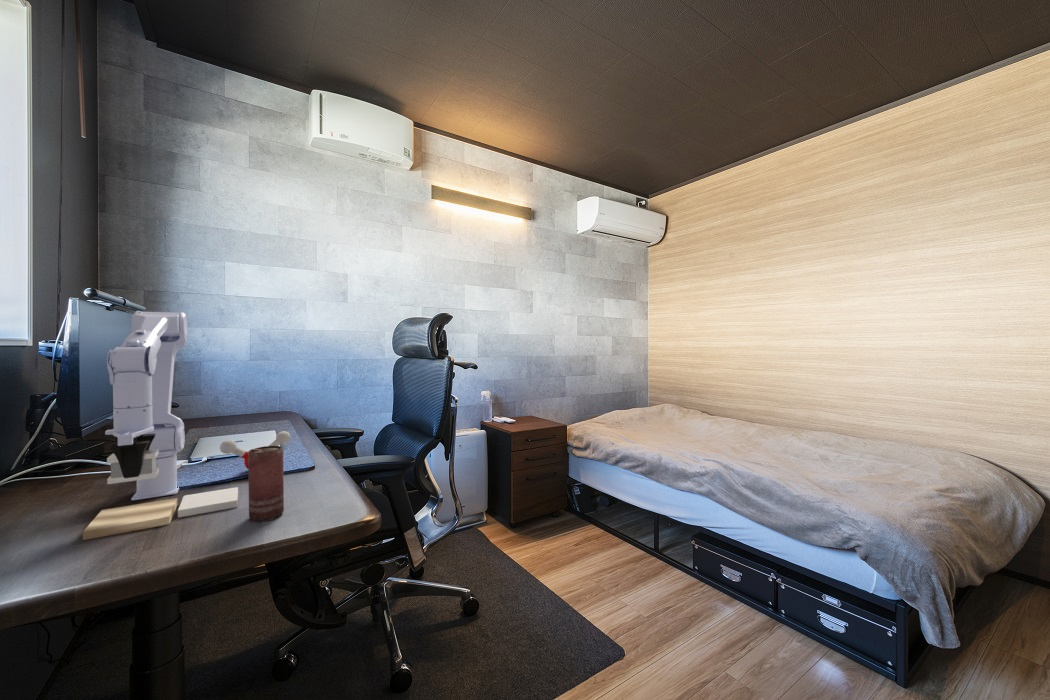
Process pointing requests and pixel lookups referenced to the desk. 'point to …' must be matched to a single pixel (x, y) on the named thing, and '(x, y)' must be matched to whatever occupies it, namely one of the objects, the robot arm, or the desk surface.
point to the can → (265, 483)
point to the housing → (146, 471)
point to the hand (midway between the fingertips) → (134, 474)
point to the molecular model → (231, 447)
